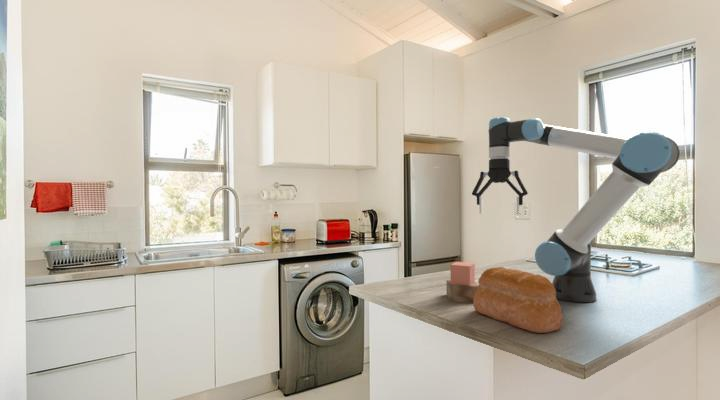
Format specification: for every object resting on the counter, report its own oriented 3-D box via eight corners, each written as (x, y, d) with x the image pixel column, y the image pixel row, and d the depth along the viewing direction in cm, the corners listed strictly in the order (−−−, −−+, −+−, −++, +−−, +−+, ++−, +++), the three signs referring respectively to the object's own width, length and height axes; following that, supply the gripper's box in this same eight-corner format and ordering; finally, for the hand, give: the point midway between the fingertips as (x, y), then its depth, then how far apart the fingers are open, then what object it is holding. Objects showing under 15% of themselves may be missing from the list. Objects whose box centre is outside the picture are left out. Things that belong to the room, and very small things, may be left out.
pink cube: (474, 282, 145) (474, 263, 145) (469, 285, 139) (469, 266, 139) (456, 280, 149) (456, 261, 149) (450, 283, 143) (450, 264, 143)
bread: (537, 337, 105) (537, 281, 105) (468, 311, 128) (468, 265, 128) (569, 329, 111) (569, 276, 111) (498, 306, 135) (498, 262, 134)
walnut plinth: (473, 295, 149) (473, 280, 149) (478, 303, 139) (478, 286, 139) (446, 295, 150) (446, 279, 150) (450, 302, 140) (450, 285, 140)
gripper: (535, 157, 148) (535, 213, 149) (468, 160, 160) (468, 212, 160) (533, 156, 142) (533, 214, 142) (464, 159, 153) (464, 213, 154)
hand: (499, 213), depth 151 cm, fingers open, 13 cm apart
